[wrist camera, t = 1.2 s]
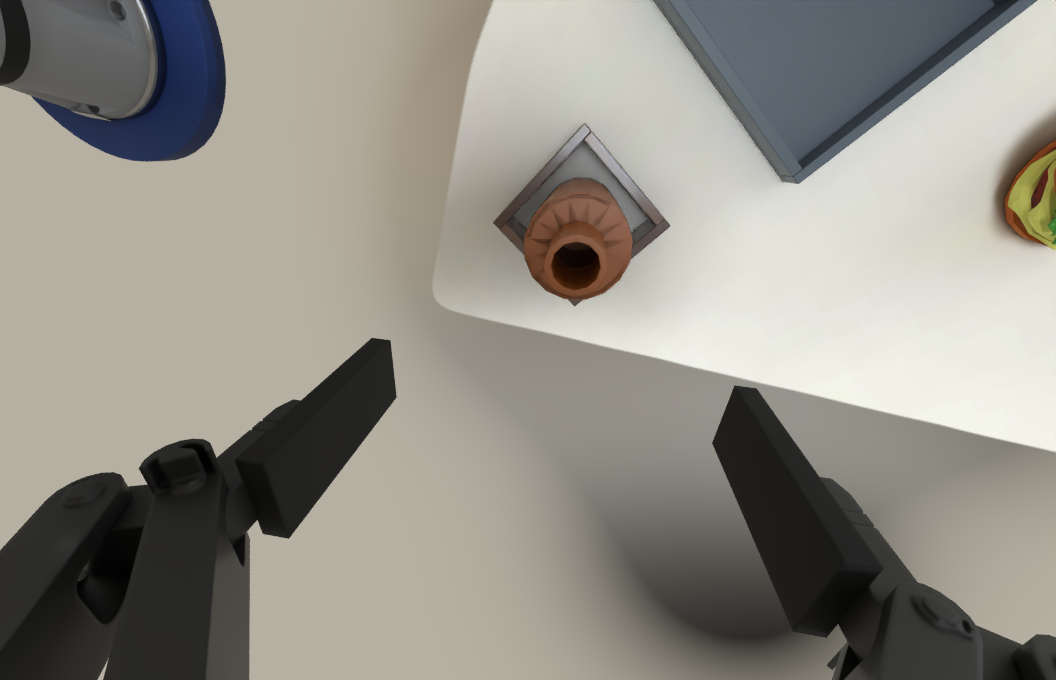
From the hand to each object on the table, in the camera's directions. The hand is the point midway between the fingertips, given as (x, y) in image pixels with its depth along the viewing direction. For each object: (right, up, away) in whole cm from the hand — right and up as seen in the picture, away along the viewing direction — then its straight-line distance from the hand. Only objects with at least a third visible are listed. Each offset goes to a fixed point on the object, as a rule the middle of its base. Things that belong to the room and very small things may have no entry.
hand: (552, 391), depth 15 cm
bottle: (+4, +14, +21) cm, 25 cm away
